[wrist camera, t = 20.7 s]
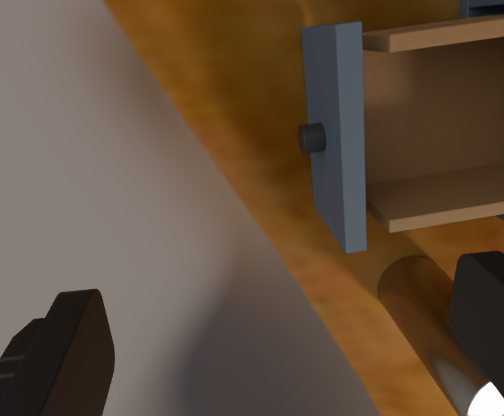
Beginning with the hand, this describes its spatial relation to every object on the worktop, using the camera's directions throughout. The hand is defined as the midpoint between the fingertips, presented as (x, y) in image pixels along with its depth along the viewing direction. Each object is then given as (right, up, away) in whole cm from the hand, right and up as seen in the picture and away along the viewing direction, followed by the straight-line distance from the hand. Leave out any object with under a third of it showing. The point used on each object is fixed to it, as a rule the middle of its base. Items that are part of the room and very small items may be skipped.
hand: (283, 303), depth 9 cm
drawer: (+9, +8, +17) cm, 21 cm away
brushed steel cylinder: (+12, -4, +24) cm, 27 cm away
